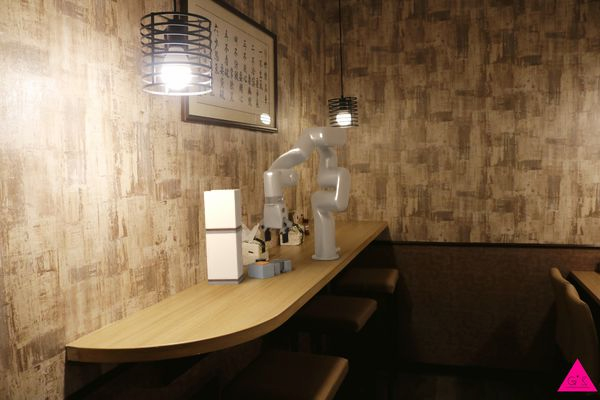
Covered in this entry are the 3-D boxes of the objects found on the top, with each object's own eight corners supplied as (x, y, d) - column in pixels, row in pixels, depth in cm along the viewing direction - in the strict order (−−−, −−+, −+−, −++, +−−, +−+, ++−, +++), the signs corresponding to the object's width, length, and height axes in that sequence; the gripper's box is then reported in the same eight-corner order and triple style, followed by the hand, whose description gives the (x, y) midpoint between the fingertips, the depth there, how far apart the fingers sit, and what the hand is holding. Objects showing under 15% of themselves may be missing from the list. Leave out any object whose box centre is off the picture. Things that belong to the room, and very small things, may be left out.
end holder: (259, 273, 209) (259, 261, 209) (274, 275, 204) (273, 263, 204) (248, 276, 204) (247, 264, 204) (263, 279, 199) (262, 266, 199)
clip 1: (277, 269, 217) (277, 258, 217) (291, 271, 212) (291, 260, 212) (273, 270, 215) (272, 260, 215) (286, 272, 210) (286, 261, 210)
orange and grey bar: (283, 267, 217) (282, 256, 217) (291, 268, 214) (291, 257, 214) (254, 274, 204) (254, 262, 204) (263, 275, 202) (262, 263, 201)
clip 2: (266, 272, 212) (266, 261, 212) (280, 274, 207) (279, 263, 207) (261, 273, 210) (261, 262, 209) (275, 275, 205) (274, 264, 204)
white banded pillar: (243, 278, 202) (240, 189, 200) (238, 284, 191) (234, 190, 189) (215, 278, 203) (211, 190, 201) (208, 284, 192) (203, 191, 190)
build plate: (255, 273, 214) (255, 262, 213) (244, 271, 219) (243, 260, 218) (277, 268, 222) (276, 257, 222) (266, 266, 228) (265, 256, 227)
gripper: (296, 199, 206) (298, 241, 208) (265, 199, 218) (267, 239, 219) (283, 202, 201) (286, 245, 202) (252, 201, 212) (255, 242, 213)
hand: (276, 242), depth 211 cm, fingers open, 9 cm apart
